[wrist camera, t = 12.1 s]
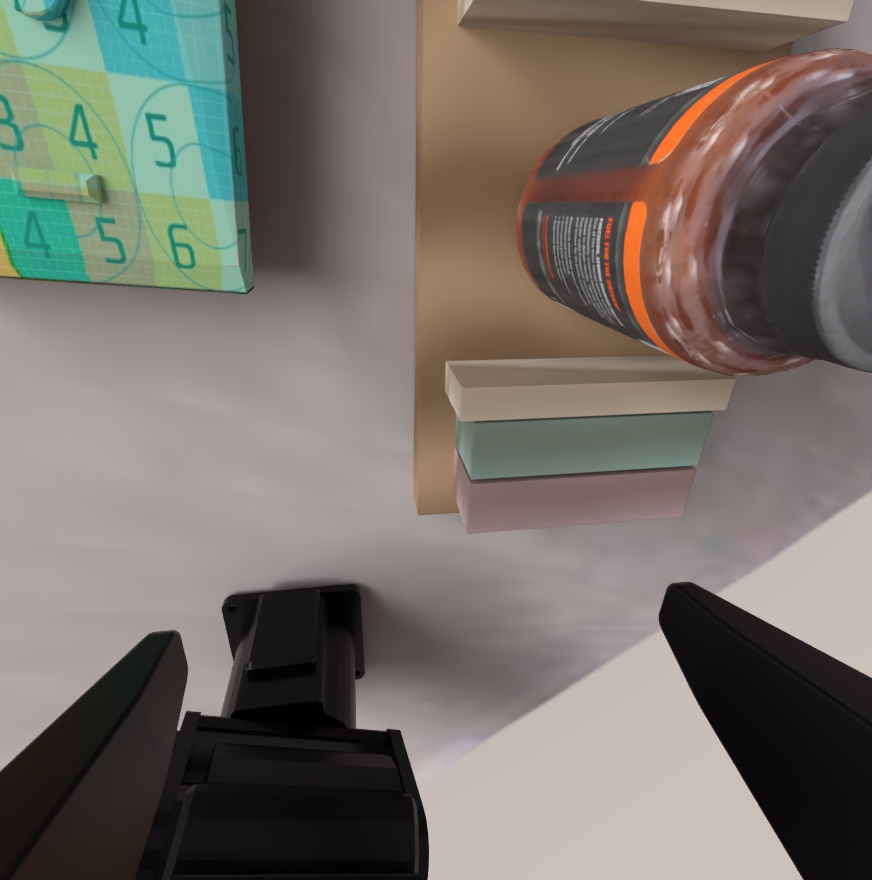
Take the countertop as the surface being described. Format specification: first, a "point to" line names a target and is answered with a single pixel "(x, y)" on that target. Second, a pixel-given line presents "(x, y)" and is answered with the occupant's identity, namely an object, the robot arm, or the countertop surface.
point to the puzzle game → (123, 145)
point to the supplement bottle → (719, 218)
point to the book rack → (505, 279)
